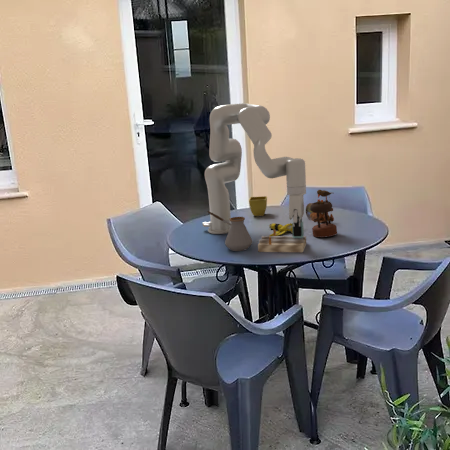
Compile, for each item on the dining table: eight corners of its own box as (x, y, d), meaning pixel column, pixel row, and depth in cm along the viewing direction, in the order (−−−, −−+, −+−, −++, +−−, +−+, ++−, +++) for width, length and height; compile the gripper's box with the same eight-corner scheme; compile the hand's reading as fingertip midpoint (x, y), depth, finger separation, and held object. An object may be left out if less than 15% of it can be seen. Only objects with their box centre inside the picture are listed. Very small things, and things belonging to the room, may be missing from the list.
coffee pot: (258, 246, 221) (256, 211, 217) (243, 254, 212) (240, 218, 208) (217, 240, 233) (214, 207, 230) (201, 248, 225) (198, 213, 221)
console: (258, 251, 214) (257, 237, 212) (263, 243, 225) (263, 229, 223) (302, 252, 209) (302, 237, 207) (306, 243, 220) (305, 229, 218)
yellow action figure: (281, 215, 251) (306, 218, 240) (282, 223, 252) (307, 227, 241) (253, 230, 238) (279, 234, 228) (255, 238, 240) (280, 243, 229)
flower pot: (251, 213, 278) (250, 196, 276) (268, 212, 277) (267, 195, 275) (249, 217, 270) (248, 200, 268) (266, 216, 269) (266, 199, 266)
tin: (305, 218, 260) (304, 201, 258) (310, 217, 261) (310, 200, 259) (324, 224, 247) (323, 206, 245) (329, 223, 248) (329, 205, 246)
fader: (292, 241, 213) (292, 223, 211) (294, 238, 216) (293, 221, 214) (302, 241, 212) (302, 223, 210) (303, 238, 215) (303, 221, 213)
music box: (322, 229, 238) (321, 186, 233) (343, 232, 231) (343, 188, 226) (302, 237, 228) (301, 192, 223) (324, 241, 220) (323, 194, 215)
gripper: (290, 186, 218) (291, 229, 222) (283, 194, 202) (285, 240, 207) (308, 185, 216) (309, 229, 220) (303, 194, 200) (305, 240, 205)
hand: (298, 234), depth 214 cm, fingers closed on fader, 3 cm apart
